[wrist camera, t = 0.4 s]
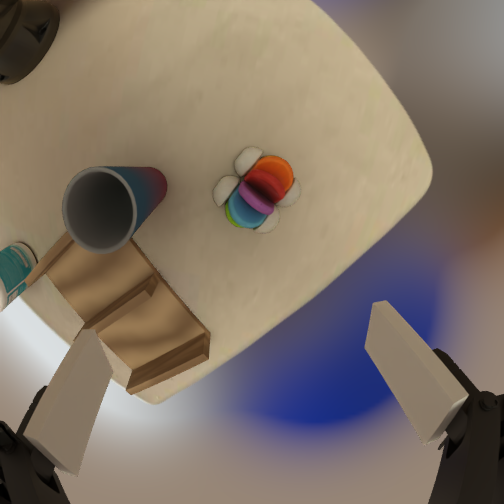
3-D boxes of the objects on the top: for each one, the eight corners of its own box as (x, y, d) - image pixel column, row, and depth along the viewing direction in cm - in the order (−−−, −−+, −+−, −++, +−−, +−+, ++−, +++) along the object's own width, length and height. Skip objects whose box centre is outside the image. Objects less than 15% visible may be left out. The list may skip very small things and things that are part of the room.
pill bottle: (8, 237, 32) (-44, 268, 19) (38, 245, 33) (-16, 282, 20) (12, 277, 34) (-33, 314, 22) (41, 287, 35) (-4, 331, 23)
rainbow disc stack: (305, 180, 34) (324, 186, 27) (258, 238, 36) (265, 258, 29) (252, 137, 32) (259, 133, 25) (204, 199, 34) (199, 211, 27)
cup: (159, 222, 34) (118, 269, 20) (115, 198, 32) (53, 230, 18) (183, 175, 32) (151, 190, 18) (137, 151, 31) (79, 152, 17)
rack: (44, 264, 34) (23, 280, 28) (106, 202, 32) (86, 212, 27) (138, 370, 42) (130, 395, 36) (210, 333, 40) (208, 359, 35)
